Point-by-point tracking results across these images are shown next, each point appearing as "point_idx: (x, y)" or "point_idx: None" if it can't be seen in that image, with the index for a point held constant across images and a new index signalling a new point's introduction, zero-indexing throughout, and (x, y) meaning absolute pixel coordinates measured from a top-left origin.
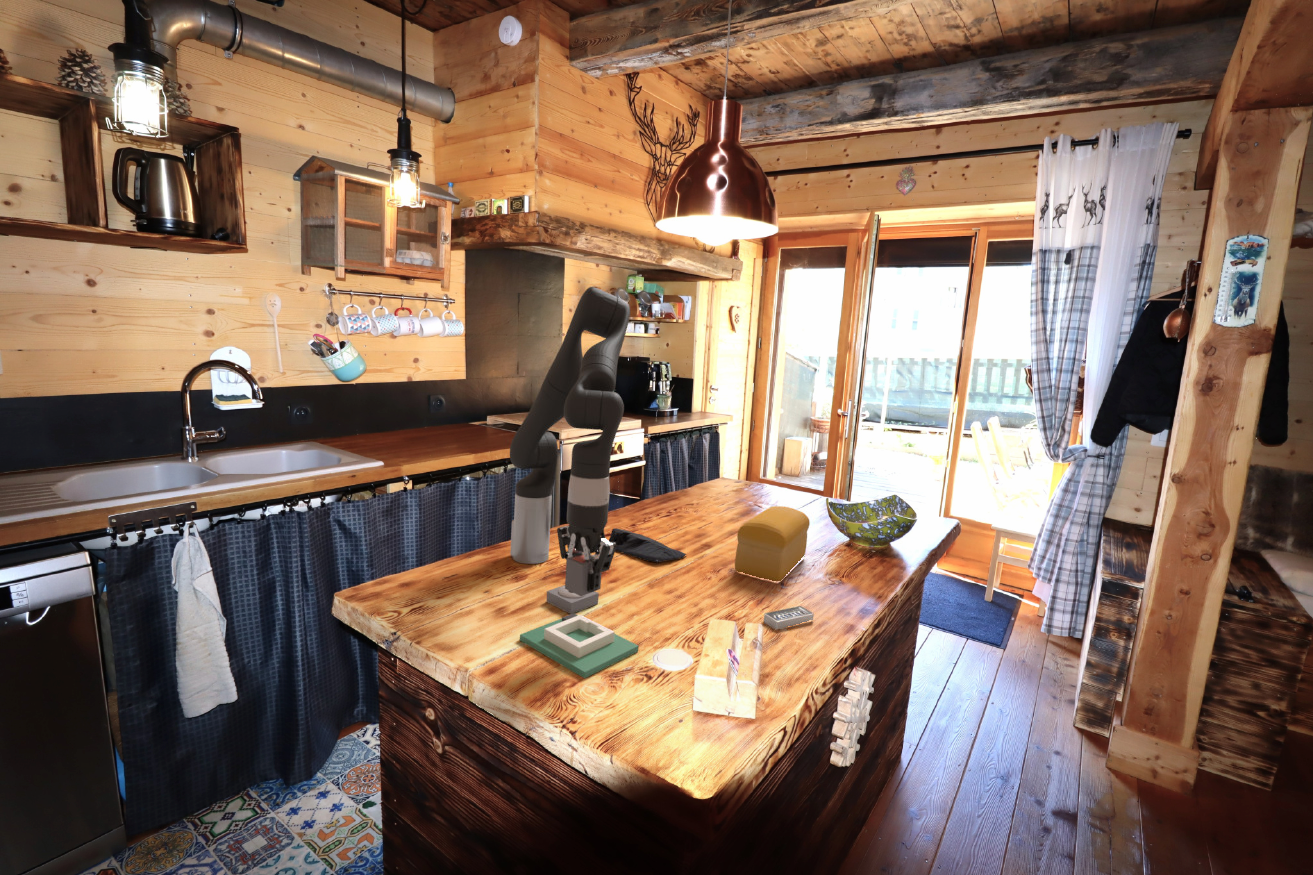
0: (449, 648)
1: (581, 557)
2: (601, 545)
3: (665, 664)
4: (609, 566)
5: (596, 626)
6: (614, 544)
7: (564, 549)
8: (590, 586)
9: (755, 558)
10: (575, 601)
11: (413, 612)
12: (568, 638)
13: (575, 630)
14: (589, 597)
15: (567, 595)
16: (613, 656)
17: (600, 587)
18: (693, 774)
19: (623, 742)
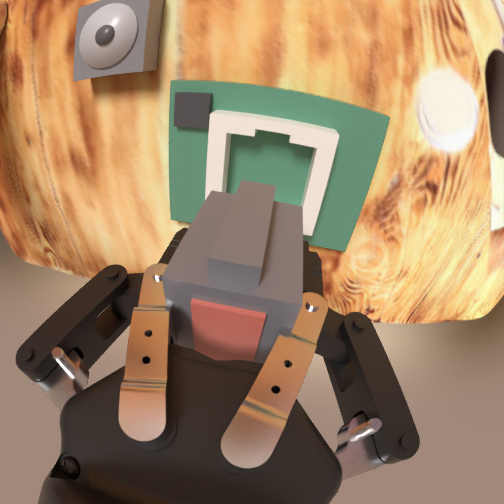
0: None
1: (214, 343)
2: (338, 452)
3: (445, 136)
4: (375, 337)
5: (282, 132)
6: (409, 454)
7: (118, 335)
8: None
9: None
10: (142, 58)
11: (51, 241)
12: None
13: (232, 140)
14: (149, 15)
15: (112, 59)
16: (365, 184)
17: (302, 209)
18: (482, 306)
19: (427, 308)
